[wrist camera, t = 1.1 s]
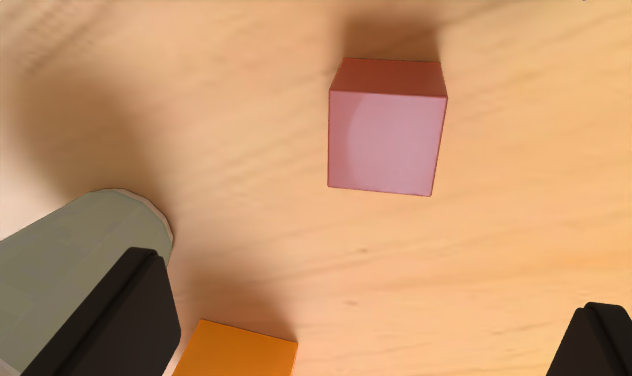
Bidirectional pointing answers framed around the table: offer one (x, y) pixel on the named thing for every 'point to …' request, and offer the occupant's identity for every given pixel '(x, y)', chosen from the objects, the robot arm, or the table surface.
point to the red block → (385, 125)
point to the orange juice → (235, 353)
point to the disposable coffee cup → (67, 265)
